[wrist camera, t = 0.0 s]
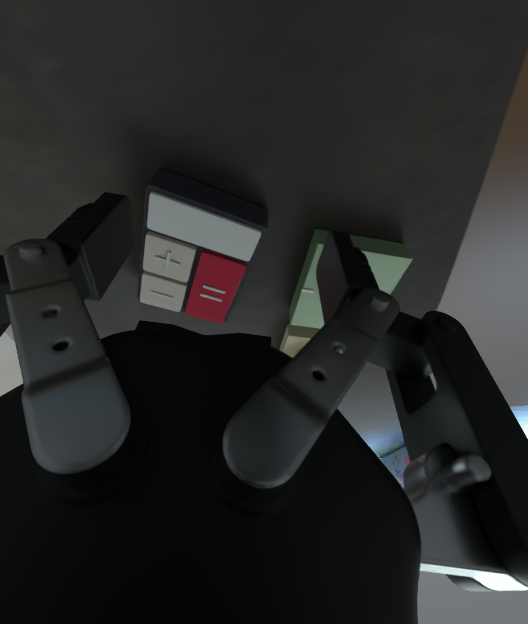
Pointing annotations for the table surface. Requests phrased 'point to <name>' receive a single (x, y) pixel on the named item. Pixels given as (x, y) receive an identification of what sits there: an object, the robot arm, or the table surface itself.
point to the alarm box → (296, 338)
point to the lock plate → (382, 259)
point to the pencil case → (397, 463)
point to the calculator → (196, 246)
